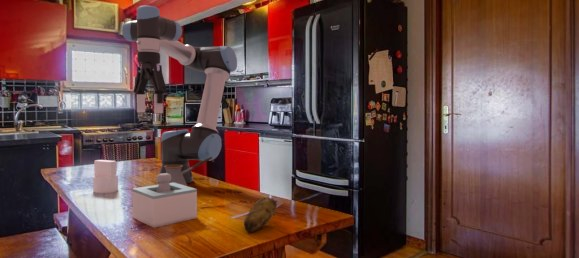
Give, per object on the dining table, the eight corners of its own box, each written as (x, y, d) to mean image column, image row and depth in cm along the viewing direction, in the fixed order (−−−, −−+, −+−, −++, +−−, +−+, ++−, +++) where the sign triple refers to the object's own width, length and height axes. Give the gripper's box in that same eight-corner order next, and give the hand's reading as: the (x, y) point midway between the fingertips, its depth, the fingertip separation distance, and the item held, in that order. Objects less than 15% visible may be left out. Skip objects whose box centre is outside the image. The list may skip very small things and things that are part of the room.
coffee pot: (163, 207, 133) (163, 163, 132) (152, 200, 142) (152, 159, 142) (220, 198, 146) (220, 158, 145) (207, 192, 155) (206, 155, 154)
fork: (221, 219, 121) (221, 214, 121) (277, 205, 138) (277, 200, 138) (227, 222, 118) (227, 216, 118) (284, 207, 136) (284, 202, 136)
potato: (232, 229, 111) (232, 201, 110) (266, 219, 120) (266, 194, 119) (251, 236, 105) (251, 206, 104) (285, 226, 114) (285, 198, 113)
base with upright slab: (88, 191, 155) (87, 161, 154) (106, 187, 164) (105, 158, 163) (105, 193, 152) (104, 163, 151) (123, 189, 160) (122, 160, 159)
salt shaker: (167, 219, 118) (166, 176, 117) (150, 217, 119) (149, 175, 118) (177, 213, 123) (177, 172, 122) (161, 212, 125) (160, 171, 124)
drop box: (174, 209, 131) (174, 182, 130) (197, 218, 121) (196, 189, 120) (132, 217, 121) (132, 188, 120) (153, 227, 111) (153, 196, 111)
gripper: (123, 53, 144) (124, 112, 145) (155, 47, 126) (156, 113, 127) (143, 55, 149) (144, 111, 150) (176, 49, 131) (177, 113, 133)
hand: (149, 112), depth 139 cm, fingers open, 13 cm apart
